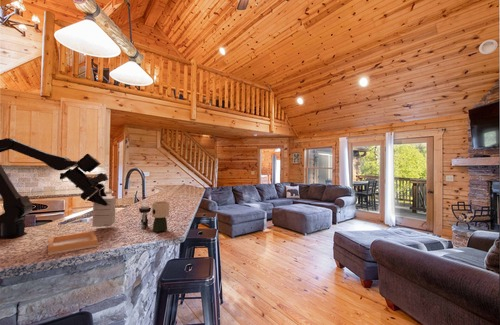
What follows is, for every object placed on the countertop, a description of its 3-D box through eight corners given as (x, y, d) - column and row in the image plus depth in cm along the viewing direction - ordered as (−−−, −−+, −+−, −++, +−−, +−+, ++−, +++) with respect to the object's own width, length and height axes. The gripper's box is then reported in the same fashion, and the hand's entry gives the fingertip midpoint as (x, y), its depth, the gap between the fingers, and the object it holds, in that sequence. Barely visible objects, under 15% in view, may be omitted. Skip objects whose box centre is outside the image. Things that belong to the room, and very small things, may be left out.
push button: (149, 229, 104) (150, 207, 105) (136, 229, 103) (137, 208, 103) (150, 225, 111) (151, 205, 111) (139, 226, 109) (139, 205, 109)
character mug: (151, 228, 105) (152, 201, 106) (167, 227, 108) (168, 200, 108) (151, 235, 95) (152, 204, 96) (169, 233, 98) (170, 204, 98)
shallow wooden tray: (48, 255, 73) (48, 247, 73) (48, 243, 83) (49, 237, 83) (97, 246, 82) (97, 239, 82) (92, 236, 92) (93, 230, 92)
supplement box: (97, 223, 106) (98, 196, 106) (115, 222, 108) (116, 196, 108) (91, 227, 98) (92, 198, 99) (110, 226, 101) (111, 198, 101)
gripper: (91, 167, 93) (120, 193, 98) (100, 167, 111) (125, 189, 115) (66, 186, 90) (98, 212, 94) (80, 182, 107) (106, 205, 111)
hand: (108, 203), depth 104 cm, fingers closed on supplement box, 7 cm apart
